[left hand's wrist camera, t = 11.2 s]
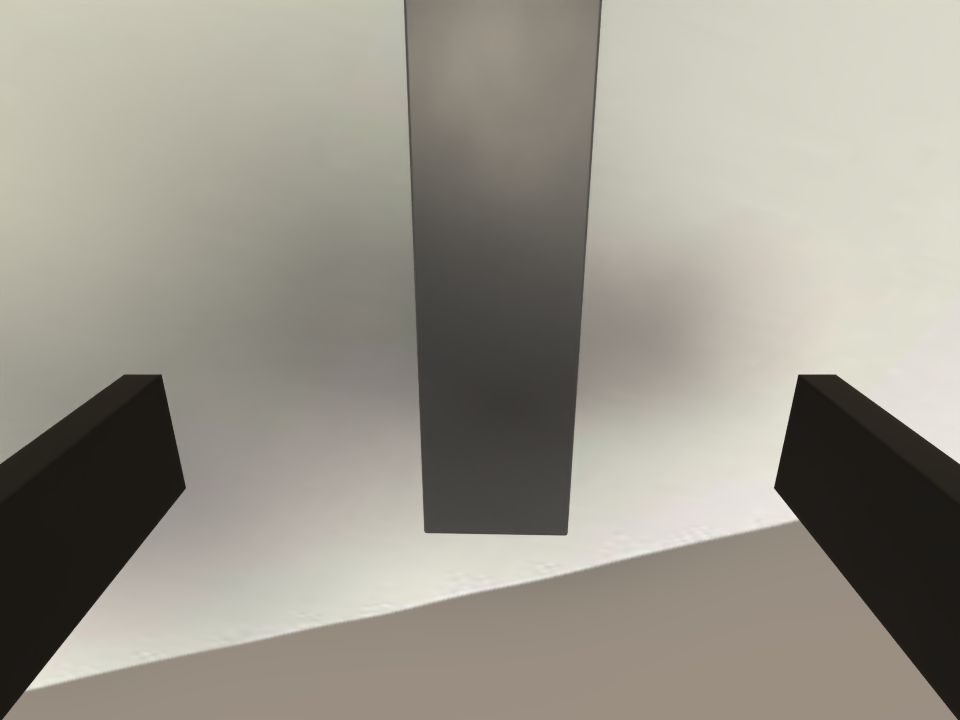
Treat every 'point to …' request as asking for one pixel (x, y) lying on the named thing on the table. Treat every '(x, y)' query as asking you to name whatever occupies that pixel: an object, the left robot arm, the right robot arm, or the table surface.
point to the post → (499, 252)
